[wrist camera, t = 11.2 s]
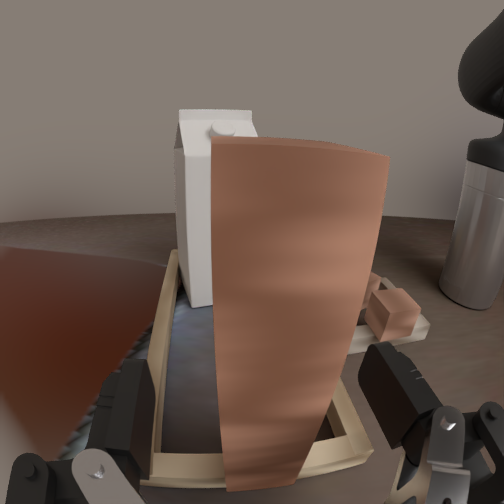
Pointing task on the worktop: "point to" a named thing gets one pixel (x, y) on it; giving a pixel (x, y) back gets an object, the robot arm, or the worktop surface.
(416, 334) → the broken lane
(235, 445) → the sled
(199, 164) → the milk carton
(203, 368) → the worktop surface
